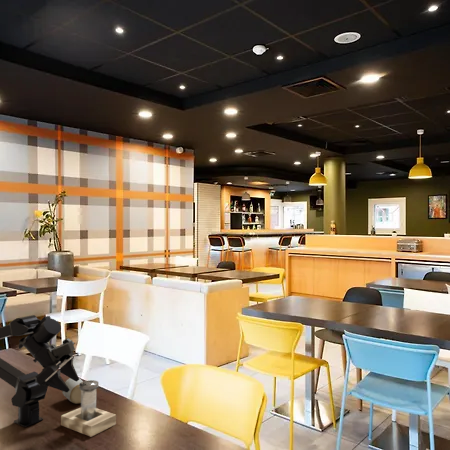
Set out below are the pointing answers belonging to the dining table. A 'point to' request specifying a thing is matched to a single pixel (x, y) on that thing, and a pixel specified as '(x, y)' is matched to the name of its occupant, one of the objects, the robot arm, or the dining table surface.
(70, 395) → the ceramic mug
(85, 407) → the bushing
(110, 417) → the plate
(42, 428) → the dining table surface
